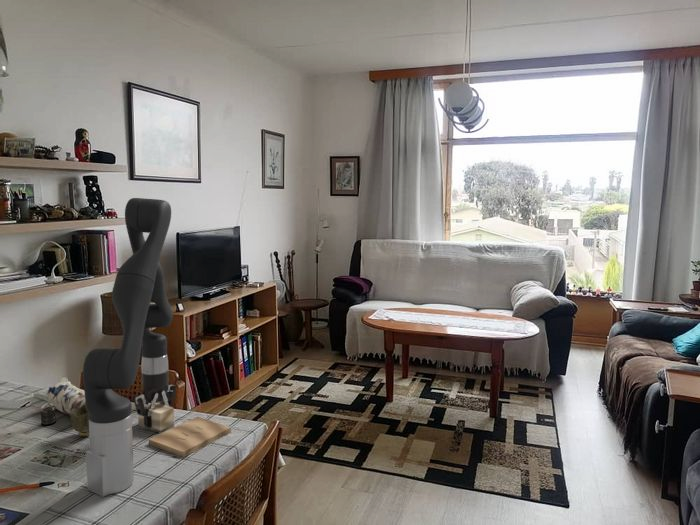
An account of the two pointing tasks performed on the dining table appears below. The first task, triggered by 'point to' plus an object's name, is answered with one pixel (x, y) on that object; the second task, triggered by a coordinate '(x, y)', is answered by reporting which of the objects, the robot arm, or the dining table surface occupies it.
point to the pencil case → (66, 396)
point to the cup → (80, 420)
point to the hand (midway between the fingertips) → (156, 423)
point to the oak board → (189, 436)
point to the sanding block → (159, 418)
